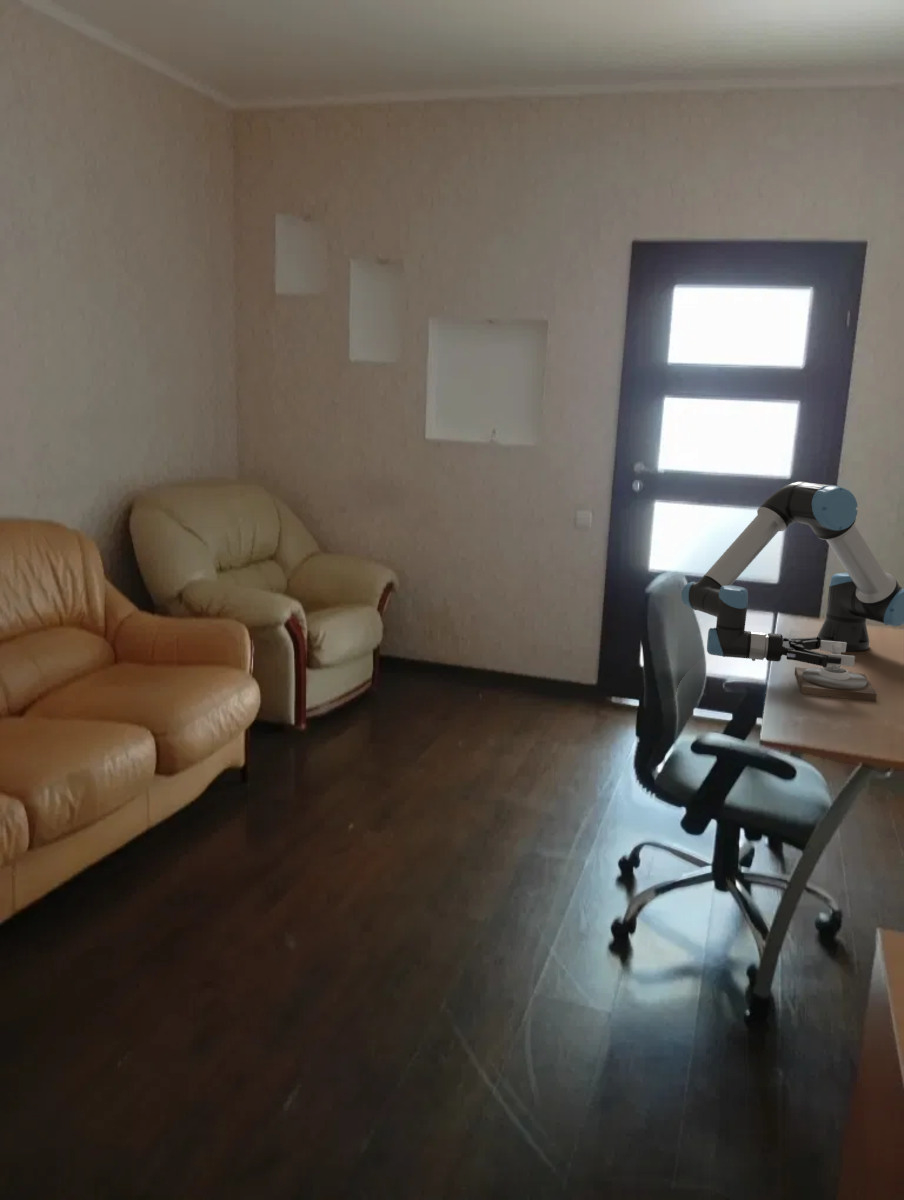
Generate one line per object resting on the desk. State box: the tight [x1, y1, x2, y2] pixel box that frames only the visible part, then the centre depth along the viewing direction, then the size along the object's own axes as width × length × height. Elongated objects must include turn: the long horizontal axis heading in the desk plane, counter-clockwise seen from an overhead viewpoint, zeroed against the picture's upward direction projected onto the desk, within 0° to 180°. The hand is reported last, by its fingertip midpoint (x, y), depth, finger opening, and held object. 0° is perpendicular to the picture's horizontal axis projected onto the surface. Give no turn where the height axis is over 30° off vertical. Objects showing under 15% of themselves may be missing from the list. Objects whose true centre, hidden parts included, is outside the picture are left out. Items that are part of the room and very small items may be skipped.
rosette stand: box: [794, 666, 878, 702], centre depth 242 cm, size 18×18×3 cm
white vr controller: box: [819, 643, 850, 680], centre depth 240 cm, size 8×12×7 cm
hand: (850, 654), depth 240 cm, fingers open, 13 cm apart
